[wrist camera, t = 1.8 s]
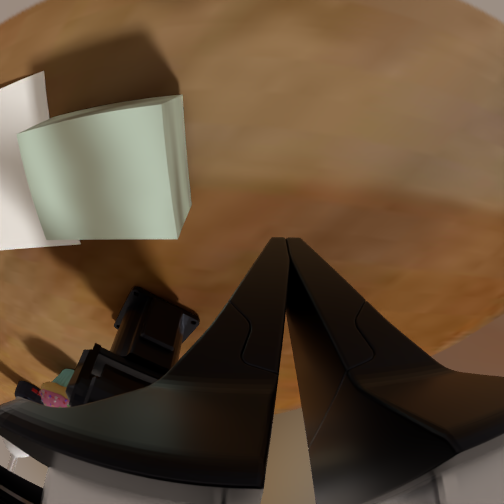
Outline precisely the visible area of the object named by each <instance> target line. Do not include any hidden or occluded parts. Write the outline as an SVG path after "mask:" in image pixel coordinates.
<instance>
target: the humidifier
mask: <svg viewBox="0 0 504 504" xmlns="http://www.w3.org/2000/svg"><path fill="white" fill-rule="evenodd" d="M39 391H40V389H39V388H37V387H35V386H34V385H32V384H30V383H28V382H25V381H19V383H18V385H17V387H16V390H15V397H16V399H27V400H30V401H33V402H36V403H39V404H42V405H44V403H43V402H42V401H41V400H42V399H41V396H40V392H39ZM16 399H15V400H16ZM2 438H3V437H2ZM3 442H4V444H5V446H6V448H7V449H8V450H9V452H10V454H11V455H10V456H11V458H10V460H9V463H8V467H7V470H9V471H11V470H12V466H13V464H14V461H15V459H16V457H27V456H29V455H28V454H26V453H25V452H23V451H22V450H20V449H19V448H17V447H16V446H15V445H13V444H12V443H10V442H9V441H7V440H6V439H5V438H3ZM16 461H17V460H16ZM14 470H15V467H14ZM13 473H14V472H13Z"/></svg>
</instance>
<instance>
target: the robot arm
mask: <svg viewBox="0 0 504 504" xmlns="http://www.w3.org/2000/svg"><path fill="white" fill-rule="evenodd" d="M136 292H137V293H136ZM365 301H366V300H365V299H364V298H363V297H362V296H361V295H360V294H359V293H358V292H357V291H356V290H355V289H354V288H353V287H352V286H351V285H350V284H349V283H348V282H347V281H346V280H345V279H344V278H343V277H341V276H340V275H339V274H338V273H337V272H336V271H335V270H334V269H333V268H332V267H331V266H330V265H329V264H328V263H327V262H326V261H325V260H324V259H322V258H321V257H320V256H319V255H318V254H317V253H316V252H315V251H314V250H313V249H312V248H311V247H310V246H308V245H307V244H306V243H305V242H304V241H303V240H302V239H301V238H286V239H285V238H283V237H272V238H271V239H270V240H269V242H268V243H267V245H266V246H265V248H264V249H263V251H262V252H261V254H260V255H259V257H258V258H257V260H256V261H255V262H254V264H253V265H252V267H251V268H250V270H249V271H248V273H247V274H246V276H245V277H244V279H243V280H242V282H241V283H240V285H239V286H238V288H237V289H236V291H235V292H234V294H233V295H232V297H231V298H230V299H229V301H228V303H227V304H226V305H225V307H224V308H223V310H222V311H221V312H220V314H219V315H218V316H217V318H216V319H215V321H214V322H213V323H212V325H211V326H210V327H209V328H208V329H207V330H206V331H205V333H204V334H203V335H202V336H201V337H200V338H199V339H198V340H197V341H196V343H195V344H194V345H193V346H192V347H191V348H190V349H189V350H188V351H187V352H186V353H185V354H184V355H183V356H182V357H181V358H180V360H179V361H178V358H179V354H180V349H181V344H182V343H183V342H184V341H185V340H186V338H187V337H188V336H189V335H190V334H191V333H192V332H193V331H194V330H195V329H196V327H197V326H198V325H199V322H200V319H199V318H198V317H197V316H195V315H193V314H191V313H189V312H187V311H185V310H183V309H181V308H179V307H177V306H175V305H173V304H171V303H169V302H167V301H165V300H163V299H161V298H159V297H157V296H155V295H153V294H151V293H149V292H147V291H145V290H143V289H142V288H140V287H133V288H132V290H131V292H130V294H129V296H128V298H127V300H126V302H125V304H124V306H123V307H122V309H121V311H120V313H119V315H118V317H117V319H116V321H115V324H114V327H115V328H116V329H118V332H117V334H116V337H115V339H114V342H113V345H112V347H111V350H110V351H108V350H106V349H104V348H102V347H101V345H99V344H97V343H95V345H94V347H93V350H92V349H91V350H84V351H83V353H82V356H81V358H80V360H79V363H78V365H77V367H76V369H75V371H74V373H73V375H72V377H71V379H70V381H69V383H68V385H67V388H66V391H65V392H66V395H67V397H68V399H69V405H68V406H70V407H63V408H59V407H50V406H45V405H42V404H39V403H36V402H33V401H30V400H27V399H16V400H13V401H10V402H7V403H3V404H1V405H0V435H1V436H2V437H3V438H5V439H6V440H7V441H9V442H10V443H12V444H13V445H15V446H16V447H17V448H19V449H20V450H22V451H23V452H25V453H26V454H28V455H29V456H31V457H33V458H34V459H36V460H37V461H39V462H41V463H42V464H44V465H46V466H47V467H48V471H47V475H46V479H45V483H44V488H41V487H39V486H37V485H35V484H33V483H31V482H29V481H27V480H25V479H23V478H22V477H19V476H18V475H16V474H14V473H13V472H11V471H9V470H7V469H5V468H4V467H2V466H1V465H0V504H260V502H261V498H262V494H263V489H264V482H265V474H266V466H267V458H268V452H269V445H270V438H271V430H272V423H273V416H274V408H275V400H276V392H277V384H278V376H279V368H280V359H281V351H282V342H283V333H284V323H285V314H286V315H287V321H288V327H289V333H290V339H291V344H292V350H293V356H294V362H295V368H296V374H297V380H298V386H299V392H300V399H301V405H302V411H303V417H304V423H305V430H306V436H307V444H308V448H309V449H308V451H309V457H310V464H311V471H312V478H313V485H314V492H315V500H316V504H504V377H499V376H489V375H480V374H471V373H463V372H457V371H454V370H451V369H448V368H446V367H444V366H443V365H441V364H439V363H438V362H437V361H435V360H434V359H433V358H432V357H431V356H429V355H428V354H427V353H426V352H424V351H423V350H422V349H421V348H420V347H418V346H417V345H416V344H415V343H414V342H412V341H411V340H410V339H409V338H407V337H406V336H405V335H404V334H403V333H401V332H400V331H399V330H398V329H397V328H396V327H394V326H393V325H392V324H391V323H390V322H388V321H387V320H386V319H385V318H384V317H383V316H382V315H381V314H380V313H379V312H378V311H377V310H376V309H375V308H374V307H373V306H372V305H371V304H370V303H368V302H367V301H366V302H365Z"/></svg>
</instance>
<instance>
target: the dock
mask: <svg viewBox="0 0 504 504" xmlns="http://www.w3.org/2000/svg"><path fill="white" fill-rule="evenodd" d="M48 119H50V117H49V110H48V103H47V95H46V86H45V75H44V71H42V72H39V73H37V74H34V75H31V76H29V77H26V78H24V79H22V80H19V81H17V82H15V83H12V84H10V85H8V86H6V87H3V88H1V89H0V250H8V249H21V248H35V247H48V246H63V245H78V244H81V243H80V240H46V238H45V235H44V232H43V229H42V226H41V224H40V221H39V218H38V215H37V212H36V209H35V205H34V202H33V199H32V196H31V192H30V189H29V185H28V182H27V178H26V174H25V170H24V166H23V162H22V158H21V153H20V149H19V144H18V139H17V134H18V133H20V132H22V131H24V130H26V129H28V128H30V127H32V126H35V125H37V124H39V123H41V122H43V121H46V120H48Z"/></svg>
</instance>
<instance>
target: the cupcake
mask: <svg viewBox="0 0 504 504" xmlns="http://www.w3.org/2000/svg"><path fill="white" fill-rule="evenodd" d="M74 371H75V370H72V369H64V370H63V371H62V372H61V373H60V374H59V375H58V376H57V377H56V378H55V379H54V380H53V381H52V382H46V383H43V384H42V385H41V390H40V391H39V392H40V396H41V399H42V400H41V401H42V402H43V403H44V405H45V406H50V407H59V408H63V407H70V406H68V405H69V399H68V397H67V395H66V392H65V391H66V388H67V385H68V383H69V381H70V379H71V377H72V375H73V373H74Z"/></svg>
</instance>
